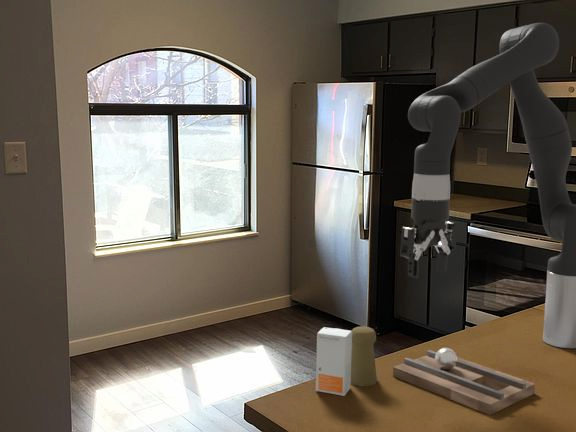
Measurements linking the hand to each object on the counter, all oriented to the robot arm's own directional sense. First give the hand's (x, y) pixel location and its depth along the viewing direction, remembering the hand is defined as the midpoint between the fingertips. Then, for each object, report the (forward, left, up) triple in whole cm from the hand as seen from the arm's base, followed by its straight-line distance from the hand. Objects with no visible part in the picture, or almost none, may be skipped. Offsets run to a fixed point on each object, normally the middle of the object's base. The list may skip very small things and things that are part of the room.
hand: (427, 274), depth 134 cm
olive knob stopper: (+13, -5, -21) cm, 25 cm away
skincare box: (+21, -5, -21) cm, 30 cm away
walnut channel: (-1, +9, -21) cm, 23 cm away
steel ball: (-1, +5, -17) cm, 18 cm away
